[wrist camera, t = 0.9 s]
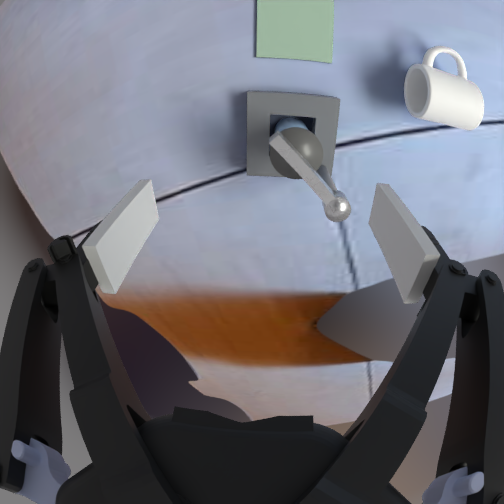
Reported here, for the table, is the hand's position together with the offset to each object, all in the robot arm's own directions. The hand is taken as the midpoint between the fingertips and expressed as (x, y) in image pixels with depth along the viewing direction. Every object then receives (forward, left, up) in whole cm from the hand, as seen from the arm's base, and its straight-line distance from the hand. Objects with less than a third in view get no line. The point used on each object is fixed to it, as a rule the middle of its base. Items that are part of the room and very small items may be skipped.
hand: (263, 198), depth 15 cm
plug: (+2, +3, -25) cm, 26 cm away
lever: (+3, +5, -13) cm, 14 cm away
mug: (-10, +24, -26) cm, 37 cm away
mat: (-14, +3, -25) cm, 29 cm away
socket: (+2, +3, -25) cm, 26 cm away
